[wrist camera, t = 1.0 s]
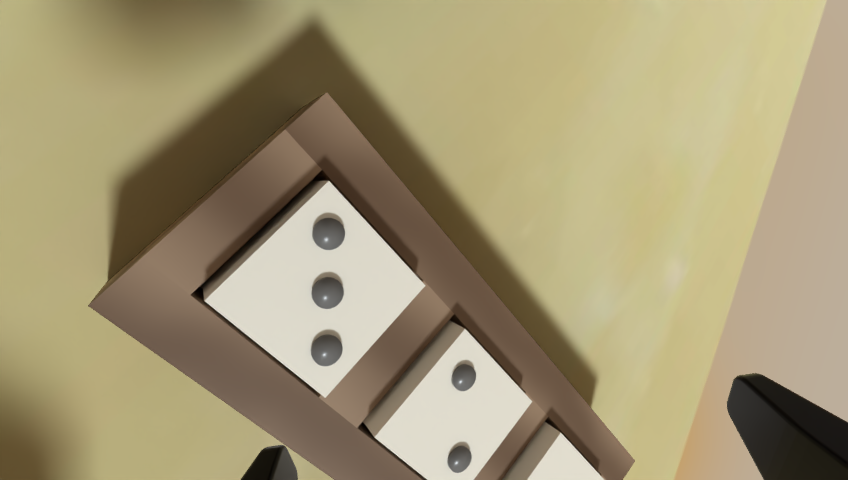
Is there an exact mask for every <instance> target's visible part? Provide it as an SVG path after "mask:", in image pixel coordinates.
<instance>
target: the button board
mask: <svg viewBox="0 0 848 480" xmlns="http://www.w3.org/2000/svg"><path fill="white" fill-rule="evenodd" d="M311 181H330V182H331V184H332V185H333V186H334V187H335V188H336V189H337V190H338V191H339V192H340V193H341V194H342V196H343V197H344V198H345V199H346V200H347V201H348V202H349V203H350V204H351V205H352V206H353V207H354V209H355V210H356V211H357V212H358V213H359V214H360V215H361V216H362V217H363V218H364V219H365V220H366V222H367V223H368V224H369V225H370V226H371V227H372V228H373V229H374V230H375V231H376V232H377V234H378V235H379V236H380V237H381V238H382V239H383V240H384V241H385V242H386V243H387V244H388V245H389V247H390V248H391V249H392V250H393V251H394V252H395V253H396V254H397V255H398V256H399V257H400V258H401V260H402V261H403V262H404V263H405V264H406V265H407V266H408V267H409V268H410V269H411V270H412V272H413V273H414V274H415V275H416V276H417V277H418V278H419V279H420V280H421V281H422V282H423V283H424V285H425V287H424V288H423V289H422V290H421V291H420V292H419V293H418V295H417V296H416V297H415V298H414V299H413V300H412V301H411V302H410V303H409V305H408V306H407V307H406V308H405V309H404V310H403V311H402V312H401V314H400V315H399V316H398V317H397V318H396V319H395V320H394V321H393V323H392V324H391V325H390V326H389V327H388V328H387V329H386V330H385V332H384V333H383V334H382V335H381V336H380V337H379V338H378V339H377V341H376V342H375V343H374V344H373V345H372V346H371V347H370V348H369V350H368V351H367V352H366V353H365V354H364V355H363V356H362V357H361V359H360V360H359V361H358V362H357V363H356V364H355V365H354V366H353V367H352V369H351V370H350V371H349V372H348V373H347V374H346V375H345V376H344V378H343V379H342V380H341V381H340V382H339V383H338V384H337V385H336V387H335V388H334V389H333V390H332V391H331V392H330V393H329V394H328V396H327V397H326V398H325V397H323V396H322V395H321V394H320V393H318V392H317V391H316V390H315V389H314V388H312V387H311V386H310V385H309V384H307V383H306V382H305V381H304V380H302V379H301V378H300V377H299V376H297V375H296V374H295V373H294V372H292V371H291V370H290V369H289V368H287V367H286V366H285V365H284V364H282V363H281V362H280V361H279V360H277V359H276V358H275V357H274V356H272V355H271V354H270V353H269V352H267V351H266V350H265V349H264V348H262V347H261V346H260V345H259V344H257V343H256V342H255V341H254V340H252V339H251V338H250V337H249V336H247V335H246V334H245V333H244V332H242V331H241V330H240V329H239V328H238V327H236V326H235V325H234V324H233V323H231V322H230V321H229V320H228V319H226V318H225V317H224V316H223V315H221V314H220V313H219V312H218V311H216V310H215V309H214V308H213V307H211V306H210V305H209V304H208V303H206V302H205V301H204V295H203V287H202V285H203V284H204V283H205V282H206V281H207V280H208V279H209V278H210V277H211V276H212V275H213V274H214V273H216V272H217V271H218V270H219V269H220V268H221V267H222V266H223V265H224V264H225V263H226V262H227V261H228V260H229V259H230V258H231V257H232V256H233V255H234V254H236V253H237V252H238V251H239V250H240V249H241V248H242V247H243V246H244V245H245V244H246V243H247V242H248V241H249V240H250V239H251V238H252V237H253V236H254V235H256V234H257V233H258V232H259V231H260V230H261V229H262V228H263V227H264V226H265V225H266V224H267V223H268V222H269V221H270V220H271V219H272V218H273V217H274V216H276V215H277V214H278V213H279V212H280V211H281V210H282V209H283V208H284V207H285V206H286V205H287V204H288V203H289V202H290V201H291V200H292V199H293V198H294V197H295V196H297V195H298V194H299V193H300V192H301V191H302V190H303V189H304V188H305V187H306V186H307V185H308V184H309V183H310V182H311ZM88 306H89V307H91V308H92V309H93V310H95V311H96V312H98V313H99V314H100V315H102V316H103V317H105V318H106V319H108V320H109V321H110V322H112V323H113V324H115V325H116V326H117V327H119V328H120V329H122V330H123V331H125V332H126V333H127V334H129V335H130V336H132V337H133V338H134V339H136V340H137V341H139V342H140V343H142V344H143V345H144V346H146V347H147V348H149V349H150V350H151V351H153V352H154V353H156V354H157V355H159V356H160V357H161V358H163V359H164V360H166V361H167V362H168V363H170V364H171V365H173V366H174V367H176V368H177V369H178V370H180V371H181V372H183V373H184V374H185V375H187V376H188V377H190V378H191V379H193V380H194V381H195V382H197V383H198V384H200V385H201V386H202V387H204V388H205V389H207V390H208V391H209V392H211V393H212V394H214V395H215V396H217V397H218V398H219V399H221V400H222V401H224V402H225V403H226V404H228V405H229V406H231V407H232V408H234V409H235V410H236V411H238V412H239V413H241V414H242V415H243V416H245V417H246V418H248V419H249V420H251V421H252V422H253V423H255V424H256V425H258V426H259V427H260V428H262V429H263V430H265V431H266V432H268V433H269V434H270V435H272V436H273V437H275V438H276V439H277V440H279V441H280V442H282V443H283V444H285V445H286V446H287V447H289V448H290V449H292V450H293V451H294V452H296V453H297V454H299V455H300V456H302V457H303V458H304V459H306V460H307V461H309V462H310V463H311V464H313V465H314V466H316V467H317V468H319V469H320V470H321V471H323V472H324V473H326V474H327V475H328V476H330V477H331V478H333V479H334V480H427V479H426V478H424V477H423V476H422V475H421V474H419V473H418V472H417V471H416V470H414V469H413V468H412V467H411V466H409V465H408V464H407V463H406V462H404V461H403V460H402V459H401V458H399V457H398V456H397V455H396V454H394V453H393V452H392V451H391V450H390V449H388V448H387V447H386V446H385V445H383V444H382V443H381V442H380V441H378V440H377V439H376V438H375V437H374V436H373V435H372V433H371V432H370V431H369V429H368V428H367V426H366V425H365V424H364V422H363V420H364V419H365V418H366V417H367V416H368V415H369V413H370V412H371V411H372V410H373V409H374V407H375V406H376V405H377V404H378V403H379V402H380V400H381V399H382V398H383V397H384V396H385V395H386V393H387V392H388V391H389V390H390V389H391V388H392V386H393V385H394V384H395V383H396V382H397V381H398V379H399V378H400V377H401V376H402V375H403V373H404V372H405V371H406V370H407V369H408V368H409V366H410V365H411V364H412V363H413V362H414V361H415V359H416V358H417V357H418V356H419V355H420V354H421V352H422V351H423V350H424V349H425V348H426V346H427V345H428V344H429V343H430V342H431V341H432V339H433V338H434V337H435V336H436V335H437V334H438V332H439V331H440V330H441V329H442V328H443V327H444V325H445V324H446V323H447V322H448V321H449V320H450V321H452V322H454V323H455V324H457V325H459V326H461V327H463V328H465V329H466V330H467V331H468V332H469V333H470V335H471V336H472V337H473V338H474V339H475V340H476V341H477V342H478V343H479V344H480V345H481V346H482V348H483V349H484V350H485V351H486V352H487V353H488V354H489V355H490V356H491V357H492V358H493V359H494V361H495V362H496V363H497V364H498V365H499V366H500V367H501V368H502V369H503V370H504V371H505V373H506V374H507V375H508V376H509V377H510V378H511V379H512V380H513V381H514V382H515V383H516V384H517V386H518V387H519V388H520V389H521V390H522V391H523V392H524V393H525V394H526V395H527V396H528V397H529V399H530V400H531V401H532V403H531V404H530V405H529V407H528V408H527V409H526V411H525V412H524V413H523V415H522V416H521V417H520V419H519V420H518V421H517V423H516V424H515V425H514V427H513V428H512V429H511V431H510V432H509V433H508V435H507V436H506V437H505V439H504V440H503V441H502V443H501V444H500V445H499V447H498V448H497V449H496V451H495V452H494V453H493V455H492V456H491V457H490V459H489V460H488V461H487V463H486V464H485V465H484V467H483V468H482V469H481V471H480V472H479V473H478V475H477V476H476V477H475V479H474V480H502V479H503V478H504V476H505V475H506V473H507V472H508V471H509V469H510V468H511V467H512V465H513V464H514V463H515V461H516V460H517V458H518V457H519V456H520V454H521V453H522V452H523V450H524V449H525V448H526V446H527V445H528V443H529V442H530V441H531V439H532V438H533V437H534V435H535V434H536V433H537V431H538V430H539V428H540V427H541V426H542V424H543V423H544V422H546V423H548V424H549V425H550V426H552V427H553V428H555V429H556V430H558V431H559V432H561V433H562V434H563V435H564V437H565V438H566V439H567V440H568V441H569V442H570V443H571V444H572V445H573V446H574V447H575V449H576V450H577V451H578V452H579V453H580V454H581V455H582V456H583V457H584V458H585V459H586V460H587V462H588V463H589V464H590V465H591V466H592V467H593V468H594V469H595V470H596V471H597V472H598V473H599V475H600V476H601V477H602V478H603V479H604V480H623V478H624V477H625V475H626V474H627V472H628V471H629V469H630V468H631V466H632V465H633V463H634V462H635V460H634V459H633V458H632V457H631V455H630V454H629V453H628V452H627V451H626V449H625V448H624V447H623V446H622V445H621V443H620V442H619V441H618V440H617V439H616V437H615V436H614V435H613V434H612V433H611V431H610V430H609V429H608V428H607V427H606V425H605V424H604V423H603V422H602V421H601V419H600V418H599V417H598V416H597V415H596V413H595V412H594V411H593V410H592V409H591V407H590V406H589V405H588V404H587V403H586V401H585V400H584V399H583V398H582V397H581V395H580V394H579V393H578V392H577V391H576V389H575V388H574V387H573V386H572V385H571V384H570V382H569V381H568V380H567V379H566V378H565V376H564V375H563V374H562V373H561V372H560V370H559V369H558V368H557V367H556V366H555V364H554V363H553V362H552V361H551V360H550V358H549V357H548V356H547V355H546V354H545V352H544V351H543V350H542V349H541V348H540V346H539V345H538V344H537V343H536V342H535V340H534V339H533V338H532V337H531V336H530V334H529V333H528V332H527V331H526V330H525V328H524V327H523V326H522V325H521V324H520V322H519V321H518V320H517V319H516V318H515V316H514V315H513V314H512V313H511V312H510V310H509V309H508V308H507V307H506V306H505V305H504V303H503V302H502V301H501V300H500V299H499V297H498V296H497V295H496V294H495V293H494V291H493V290H492V289H491V288H490V287H489V285H488V284H487V283H486V282H485V281H484V279H483V278H482V277H481V276H480V275H479V273H478V272H477V271H476V270H475V269H474V267H473V266H472V265H471V264H470V263H469V261H468V260H467V259H466V258H465V257H464V255H463V254H462V253H461V252H460V251H459V249H458V248H457V247H456V246H455V245H454V243H453V242H452V241H451V240H450V239H449V237H448V236H447V235H446V234H445V233H444V231H443V230H442V229H441V228H440V227H439V226H438V224H437V223H436V222H435V221H434V220H433V218H432V217H431V216H430V215H429V214H428V212H427V211H426V210H425V209H424V208H423V206H422V205H421V204H420V203H419V202H418V200H417V199H416V198H415V197H414V196H413V194H412V193H411V192H410V191H409V190H408V188H407V187H406V186H405V185H404V184H403V182H402V181H401V180H400V179H399V178H398V176H397V175H396V174H395V173H394V172H393V170H392V169H391V168H390V167H389V166H388V164H387V163H386V162H385V161H384V160H383V158H382V157H381V156H380V155H379V154H378V152H377V151H376V150H375V149H374V148H373V147H372V145H371V144H370V143H369V142H368V141H367V139H366V138H365V137H364V136H363V135H362V133H361V132H360V131H359V130H358V129H357V127H356V126H355V125H354V124H353V123H352V121H351V120H350V119H349V118H348V117H347V115H346V114H345V113H344V112H343V111H342V109H341V108H340V107H339V106H338V105H337V103H336V102H335V101H334V100H333V99H332V97H331V96H330V95H329V94H328V93H327V92H326V93H325V94H323V95H321V96H320V97H318V98H317V99H315V100H313V101H312V102H310V103H309V104H307V105H305V106H304V107H303V108H302V109H300V110H299V111H298V112H297V113H296V114H295V115H294V116H293V117H292V118H290V119H289V120H288V121H287V122H286V123H285V124H284V125H283V126H281V127H280V128H279V129H278V130H277V131H276V132H275V133H274V134H272V135H271V136H270V137H269V138H268V139H267V140H266V141H265V142H263V143H262V144H261V145H260V146H259V147H258V148H257V149H256V150H254V151H253V152H252V153H251V154H250V155H249V156H248V157H247V158H245V159H244V160H243V161H242V162H241V163H240V164H239V165H238V166H236V167H235V168H234V169H233V170H232V171H231V172H230V173H229V174H227V175H226V176H225V177H224V178H223V179H222V180H221V181H220V182H218V183H217V184H216V185H215V186H214V187H213V188H212V189H211V190H210V191H208V192H207V193H206V194H205V195H204V196H203V197H202V198H201V199H199V200H198V201H197V202H196V203H195V204H194V205H193V206H192V207H190V208H189V209H188V210H187V211H186V212H185V213H184V214H183V215H181V216H180V217H179V218H178V219H177V220H176V221H175V222H174V223H172V224H171V225H170V226H169V227H168V228H167V229H166V230H165V231H163V232H162V233H161V234H160V235H159V236H158V237H157V238H156V239H154V240H153V241H152V242H151V243H150V244H149V245H148V246H147V247H145V248H144V249H143V250H142V251H141V252H140V253H139V254H138V255H136V256H135V257H134V258H133V259H132V260H131V261H130V262H129V263H127V264H126V265H125V266H124V267H123V268H122V269H121V270H120V271H119V272H117V273H116V274H115V275H114V276H113V277H112V278H111V279H110V280H108V281H107V283H106V284H105V285H104V286H103V288H102V289H101V290H100V291H99V293H98V294H97V295H96V296H95V298H94V299H93V300H92V302H91V303H90V304H89V305H88Z"/></svg>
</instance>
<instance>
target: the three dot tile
mask: <svg viewBox="0 0 848 480" xmlns="http://www.w3.org/2000/svg"><path fill="white" fill-rule="evenodd" d="M202 287H203V295H204V301H205V302H206V303H208V304H209V305H210V306H211V307H213V308H214V309H215V310H216V311H218V312H219V313H220V314H221V315H223V316H224V317H225V318H226V319H228V320H229V321H230V322H231V323H233V324H234V325H235V326H236V327H238V328H239V329H240V330H241V331H242V332H244V333H245V334H246V335H247V336H249V337H250V338H251V339H252V340H254V341H255V342H256V343H257V344H259V345H260V346H261V347H262V348H264V349H265V350H266V351H267V352H269V353H270V354H271V355H272V356H274V357H275V358H276V359H277V360H279V361H280V362H281V363H282V364H284V365H285V366H286V367H287V368H289V369H290V370H291V371H292V372H294V373H295V374H296V375H297V376H299V377H300V378H301V379H302V380H304V381H305V382H306V383H307V384H309V385H310V386H311V387H312V388H314V389H315V390H316V391H317V392H318V393H320V394H321V395H322V396H323V397H325V398H326V397H327V396H328V394H329V393H330V392H331V391H332V390H333V389H334V388H335V387H336V385H337V384H338V383H339V382H340V381H341V380H342V379H343V378H344V376H345V375H346V374H347V373H348V372H349V371H350V370H351V369H352V367H353V366H354V365H355V364H356V363H357V362H358V361H359V360H360V359H361V357H362V356H363V355H364V354H365V353H366V352H367V351H368V350H369V348H370V347H371V346H372V345H373V344H374V343H375V342H376V341H377V339H378V338H379V337H380V336H381V335H382V334H383V333H384V332H385V330H386V329H387V328H388V327H389V326H390V325H391V324H392V323H393V321H394V320H395V319H396V318H397V317H398V316H399V315H400V314H401V312H402V311H403V310H404V309H405V308H406V307H407V306H408V305H409V303H410V302H411V301H412V300H413V299H414V298H415V297H416V296H417V295H418V293H419V292H420V291H421V290H422V289H423V288H424V287H425V285H424V283H423V282H422V281H421V280H420V279H419V278H418V277H417V276H416V275H415V274H414V273H413V272H412V270H411V269H410V268H409V267H408V266H407V265H406V264H405V263H404V262H403V261H402V260H401V258H400V257H399V256H398V255H397V254H396V253H395V252H394V251H393V250H392V249H391V248H390V247H389V245H388V244H387V243H386V242H385V241H384V240H383V239H382V238H381V237H380V236H379V235H378V234H377V232H376V231H375V230H374V229H373V228H372V227H371V226H370V225H369V224H368V223H367V222H366V220H365V219H364V218H363V217H362V216H361V215H360V214H359V213H358V212H357V211H356V210H355V209H354V207H353V206H352V205H351V204H350V203H349V202H348V201H347V200H346V199H345V198H344V197H343V196H342V194H341V193H340V192H339V191H338V190H337V189H336V188H335V187H334V186H333V185H332V184H331V182H330V181H311V182H310V183H309V184H308V185H307V186H306V187H305V188H304V189H303V190H302V191H301V192H300V193H299V194H298V195H297V196H295V197H294V198H293V199H292V200H291V201H290V202H289V203H288V204H287V205H286V206H285V207H284V208H283V209H282V210H281V211H280V212H279V213H278V214H277V215H276V216H274V217H273V218H272V219H271V220H270V221H269V222H268V223H267V224H266V225H265V226H264V227H263V228H262V229H261V230H260V231H259V232H258V233H257V234H256V235H254V236H253V237H252V238H251V239H250V240H249V241H248V242H247V243H246V244H245V245H244V246H243V247H242V248H241V249H240V250H239V251H238V252H237V253H236V254H234V255H233V256H232V257H231V258H230V259H229V260H228V261H227V262H226V263H225V264H224V265H223V266H222V267H221V268H220V269H219V270H218V271H217V272H216V273H214V274H213V275H212V276H211V277H210V278H209V279H208V280H207V281H206V282H205V283H204V284H203V285H202Z"/></svg>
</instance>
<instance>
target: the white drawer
mask: <svg viewBox="0 0 848 480" xmlns="http://www.w3.org/2000/svg"><path fill="white" fill-rule="evenodd" d="M502 480H604V479H603V478H602V477H601V476H600V475H599V473H598V472H597V471H596V470H595V469H594V468H593V467H592V466H591V465H590V464H589V463H588V462H587V460H586V459H585V458H584V457H583V456H582V455H581V454H580V453H579V452H578V451H577V450H576V449H575V447H574V446H573V445H572V444H571V443H570V442H569V441H568V440H567V439H566V438H565V437H564V435H563V434H562V433H561V432H559V431H558V430H556V429H555V428H553V427H552V426H550V425H549V424H548V423H546V422H544V423H543V424H542V426H541V427H540V428H539V430H538V431H537V433H536V434H535V435H534V437H533V438H532V439H531V441H530V442H529V443H528V445H527V446H526V448H525V449H524V450H523V452H522V453H521V454H520V456H519V457H518V458H517V460H516V461H515V463H514V464H513V465H512V467H511V468H510V469H509V471H508V472H507V473H506V475H505V476H504V478H503V479H502Z"/></svg>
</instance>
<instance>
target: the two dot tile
mask: <svg viewBox="0 0 848 480" xmlns="http://www.w3.org/2000/svg"><path fill="white" fill-rule="evenodd" d="M531 403H532V401H531V400H530V399H529V397H528V396H527V395H526V394H525V393H524V392H523V391H522V390H521V389H520V388H519V387H518V386H517V384H516V383H515V382H514V381H513V380H512V379H511V378H510V377H509V376H508V375H507V374H506V373H505V371H504V370H503V369H502V368H501V367H500V366H499V365H498V364H497V363H496V362H495V361H494V359H493V358H492V357H491V356H490V355H489V354H488V353H487V352H486V351H485V350H484V349H483V348H482V346H481V345H480V344H479V343H478V342H477V341H476V340H475V339H474V338H473V337H472V336H471V335H470V333H469V332H468V331H467V330H466V329H465V328H463V327H461V326H459V325H457V324H455V323H454V322H452V321H450V320H449V321H448V322H447V323H446V324H445V325H444V327H443V328H442V329H441V330H440V331H439V332H438V334H437V335H436V336H435V337H434V338H433V339H432V341H431V342H430V343H429V344H428V345H427V346H426V348H425V349H424V350H423V351H422V352H421V354H420V355H419V356H418V357H417V358H416V359H415V361H414V362H413V363H412V364H411V365H410V366H409V368H408V369H407V370H406V371H405V372H404V373H403V375H402V376H401V377H400V378H399V379H398V381H397V382H396V383H395V384H394V385H393V386H392V388H391V389H390V390H389V391H388V392H387V393H386V395H385V396H384V397H383V398H382V399H381V400H380V402H379V403H378V404H377V405H376V406H375V407H374V409H373V410H372V411H371V412H370V413H369V415H368V416H367V417H366V418H365V419H364V420H363V422H364V424H365V425H366V426H367V428H368V429H369V431H370V432H371V433H372V435H373V436H374V437H375V438H376V439H377V440H378V441H380V442H381V443H382V444H383V445H385V446H386V447H387V448H388V449H390V450H391V451H392V452H393V453H394V454H396V455H397V456H398V457H399V458H401V459H402V460H403V461H404V462H406V463H407V464H408V465H409V466H411V467H412V468H413V469H414V470H416V471H417V472H418V473H419V474H421V475H422V476H423V477H424V478H426V479H427V480H474V479H475V477H476V476H477V475H478V473H479V472H480V471H481V469H482V468H483V467H484V465H485V464H486V463H487V461H488V460H489V459H490V457H491V456H492V455H493V453H494V452H495V451H496V449H497V448H498V447H499V445H500V444H501V443H502V441H503V440H504V439H505V437H506V436H507V435H508V433H509V432H510V431H511V429H512V428H513V427H514V425H515V424H516V423H517V421H518V420H519V419H520V417H521V416H522V415H523V413H524V412H525V411H526V409H527V408H528V407H529V405H530V404H531Z"/></svg>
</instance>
